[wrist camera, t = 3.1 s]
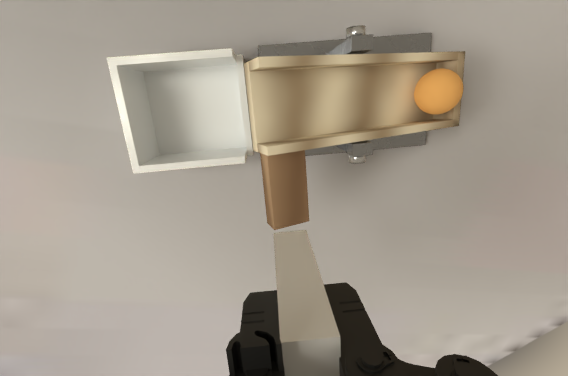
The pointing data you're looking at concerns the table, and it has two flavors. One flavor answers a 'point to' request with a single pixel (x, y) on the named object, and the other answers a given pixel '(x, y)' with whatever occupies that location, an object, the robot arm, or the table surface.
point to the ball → (438, 91)
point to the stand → (359, 45)
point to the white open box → (183, 109)
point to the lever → (332, 112)
